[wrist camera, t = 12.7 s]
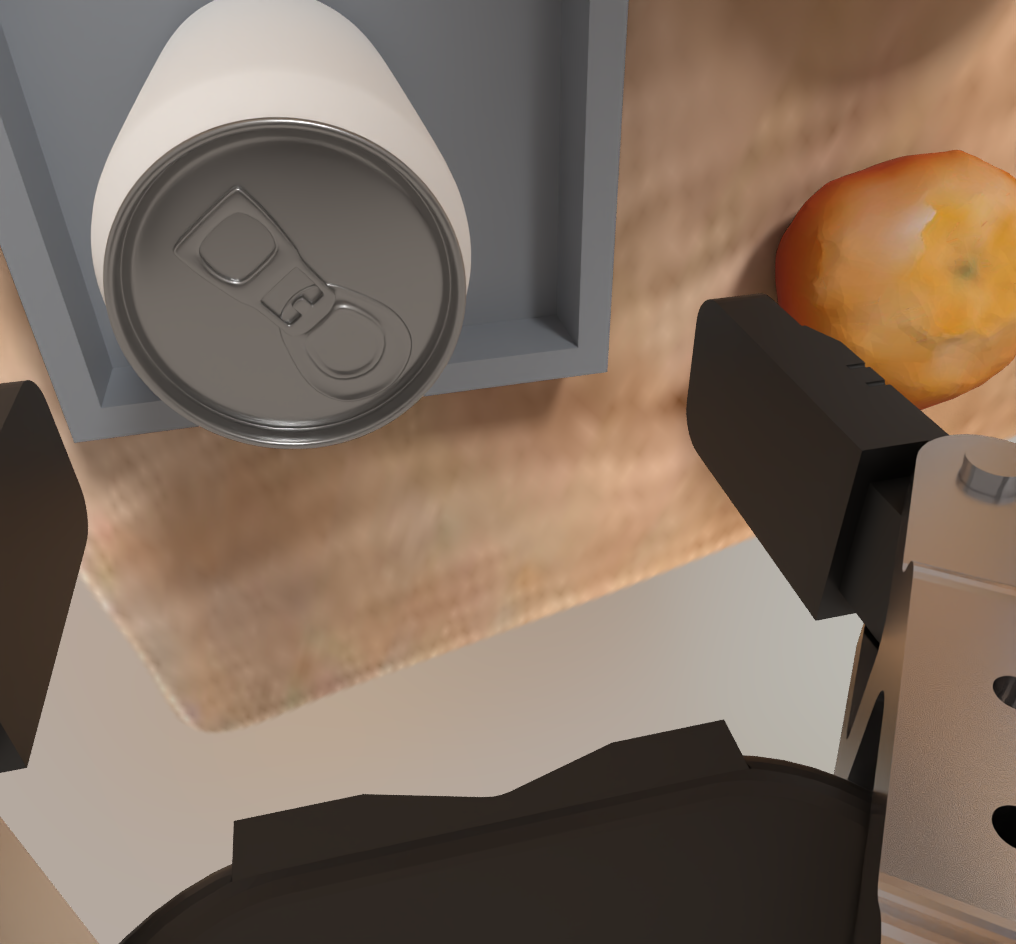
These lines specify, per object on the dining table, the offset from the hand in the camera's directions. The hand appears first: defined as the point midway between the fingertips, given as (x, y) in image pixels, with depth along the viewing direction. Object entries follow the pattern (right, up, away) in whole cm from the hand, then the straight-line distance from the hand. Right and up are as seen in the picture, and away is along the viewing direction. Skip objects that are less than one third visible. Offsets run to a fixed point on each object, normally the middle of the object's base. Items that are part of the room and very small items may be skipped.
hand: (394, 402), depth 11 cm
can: (-5, +9, +13) cm, 16 cm away
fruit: (+14, +7, +20) cm, 25 cm away
